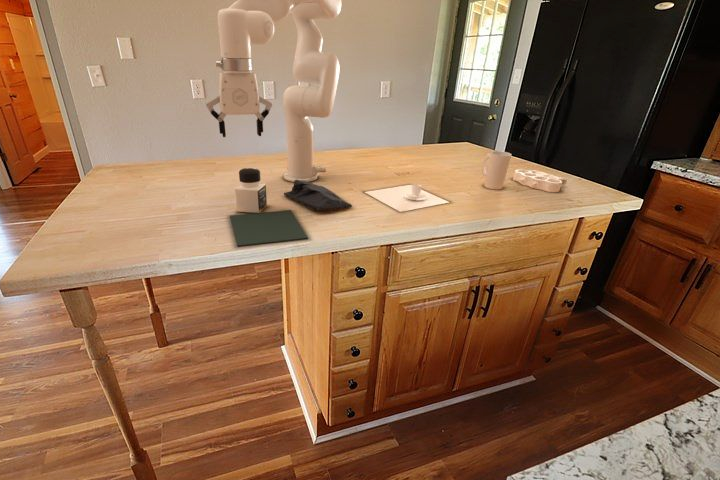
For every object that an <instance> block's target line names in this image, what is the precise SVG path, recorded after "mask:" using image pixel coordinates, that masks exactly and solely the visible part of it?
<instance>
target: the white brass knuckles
mask: <svg viewBox="0 0 720 480" xmlns="http://www.w3.org/2000/svg"><path fill="white" fill-rule="evenodd" d="M512 180H513V181H515V182H518V183H519V184H520V185H523V186H526V187H529V188H531V189H536V190H541V191H545V192H547V193H559V192H560V190H561V188H562V187H563V186H565V185H566V184H567V183H568V180H567V179H566V178H565V177H560V176H556V175H554V174H552V173H547V172H543V171H540V170H539V169H538V170H537V169H536V170H528V169H515V171H514V174H513V176H512Z"/></svg>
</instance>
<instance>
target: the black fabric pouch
mask: <svg viewBox="0 0 720 480" xmlns="http://www.w3.org/2000/svg"><path fill="white" fill-rule="evenodd" d="M283 196H285V197H288V198H290V199H291V200H292V201H294V202H296V203H298V204H302V205H303V206H305V207H307V208H309V209H311V210H313V211H315V212H324V211H331V210H345V209H349V208H352V207H353V205H352V204H351V203H349V202H347V201H345V200H344V199H342V198H341V197H340V196H339V195H337V194H336V193H335V192H333V191H332V190H330V189H328V188H327V187H325V186H323V185H319V184H314V183H313V182H311V181H310V182H306V181H300V180H295V181H294V182H293V186H292V188H291V190H290V191H286V192H284V193H283Z"/></svg>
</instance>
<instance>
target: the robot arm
mask: <svg viewBox="0 0 720 480" xmlns="http://www.w3.org/2000/svg"><path fill="white" fill-rule="evenodd" d="M341 9H342V0H236V1H235V2H233V3H232V4H231V5H230V6H229V7H228V8H221V9H219V10H218V12H217V26H218V40H219V49H220V59H219V60H215V67H216V68H220V69H221V71H219V77H218V84H219V85H218V92H219V93H218V96H216V97H214V98H213V99H211V100H210V101H208V102H206V104H205V106H206V108H207V109H208V111H209V113H210V114H211V116H213V118H215V120H217V122H218V127H219V128H218V129H219V134H222V135H221V136H222V138H226V137H227V135H226V124H225V120H224V119H225V118H226V116H227V115H231V116H232V115H233V116H234V115H237V116H238V115H239V116H240V115H255V116H256V117H257V119H256V134H257V136H258V137H262V133H264V120H265V119H266V117H267V116H268V115H269V114H270V111H271V110H272V107H273V103H272V102H271V101H269V100H267V99H265V98H263V97H261V96H260V95H259V94H260V93H259V86H258V79H257V75H256V73H255V72H253V63H252V46H251V45H257V46H258V45H259V46H261V45H266V44H268V43H269V42H271V41H272V40H273V38H274V35H275V24H274V23H276V22H280V21H282V20H284V19H286V18H287V17H288V16H289V15H290V14H291V16H292V19H293V22H294V25H295V28H296V32H297V33H296V36H297V40H296V47H295V53H294V59H293V63H292V64H293V65H292V76H293V79H294V80H295V81H297V82H299V83H302V84H313V85H319V86H313V85H312V86H311V85H301V84H299V85H291V86H288V87H287V88H286V89H285V90H284V92H283V94H282V95H283V97H282V104H283V110H284V114H285V121H286V157H287V159H286V161H287V171H286V172H284V174H283V179H284V180H286V181H288V182H291V183H294V181H295V180H300V181H306V182H310V183H311V182H314V181H316V180H317V179H318V173H326V172H327V167H326V166H320V165H318V166H316V165H314V135H315V134H314V133H315V132H314V125H313V123H312V122H311V120H310V117H311V118H320V119H323V118H328V117H330V116H331V114H332V113H333V109H334V106H335V101H336V95H337V90H338V84H339V79H340V78H339V77H340V61H339V58H338V57H337V55H336V54H334V53H333V52H327V51H322V48H323V43H324V39H323V35H322V32H321V30H320V29H319V27H318V25H317V24H316V21H315V20H334V19H336V18H337V17H338V16H339V15H340V13H341ZM217 104H219V106H220V110H221V111H220V112H219V113H218V112H217V111H216V110H215V109H214V106H216V105H217ZM260 104H262V105H264V110H262V112H260V110H261V109H260V108H261V107H260Z"/></svg>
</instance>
